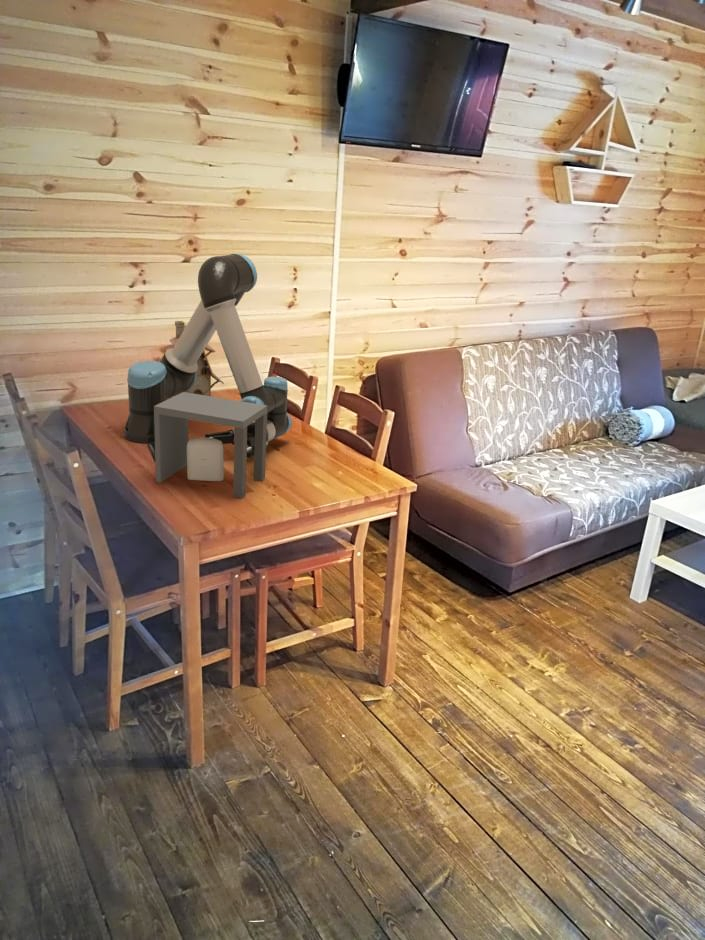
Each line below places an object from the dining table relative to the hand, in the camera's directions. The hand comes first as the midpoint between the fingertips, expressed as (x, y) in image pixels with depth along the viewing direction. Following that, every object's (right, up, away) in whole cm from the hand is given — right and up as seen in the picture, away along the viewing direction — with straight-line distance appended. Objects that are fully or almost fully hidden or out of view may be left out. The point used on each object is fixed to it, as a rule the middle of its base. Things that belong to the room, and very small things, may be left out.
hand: (217, 452), depth 206 cm
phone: (-19, 0, +16) cm, 25 cm away
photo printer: (-3, -8, -1) cm, 8 cm away
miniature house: (-20, +18, +58) cm, 64 cm away
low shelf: (-1, -8, -2) cm, 8 cm away
